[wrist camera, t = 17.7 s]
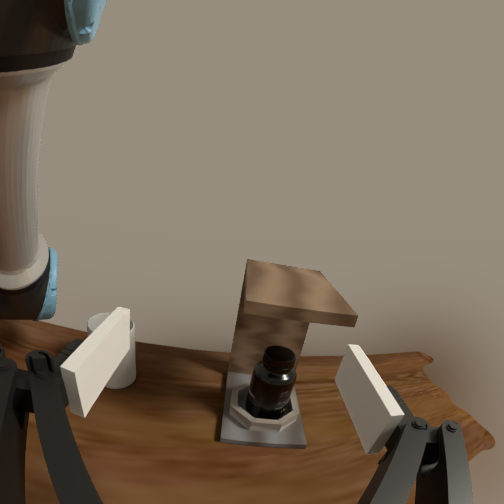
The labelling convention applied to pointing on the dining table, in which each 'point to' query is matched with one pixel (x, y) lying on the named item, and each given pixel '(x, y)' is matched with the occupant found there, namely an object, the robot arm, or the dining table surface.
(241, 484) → the dining table surface
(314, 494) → the dining table surface
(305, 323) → the awning stand
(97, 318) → the mug
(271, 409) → the supplement bottle
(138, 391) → the dining table surface
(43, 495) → the dining table surface
